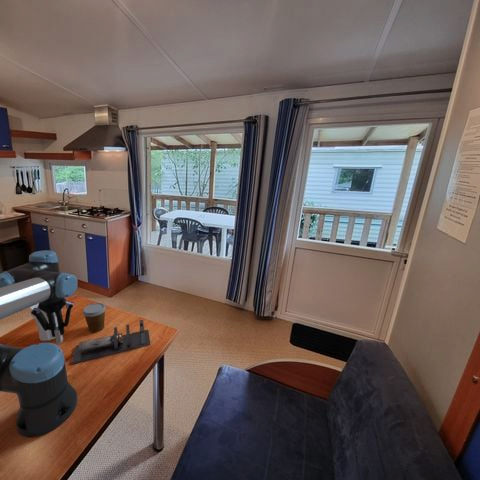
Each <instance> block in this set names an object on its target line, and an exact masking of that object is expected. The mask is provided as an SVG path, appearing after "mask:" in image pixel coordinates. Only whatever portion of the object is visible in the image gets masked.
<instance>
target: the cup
mask: <svg viewBox="0 0 480 480" xmlns="http://www.w3.org/2000/svg"><path fill="white" fill-rule="evenodd" d="M38 305H39V303H38V304H36V305H33V306H31V307H29V308H28V309H29V311H30V315H31V318H33V319H34V320H35V324H36V329H37V332H38V335H39V336H38V337H39V341H40V342H42V343H50V342H52V341H56V337H52V333H51V330H47V331H45V330H44V329H43V327H42V326H41V324H40V323H39V321H38V319H37V318H36V316H34V315H33V314H31V312H32V310H33V308H37V307H38ZM63 308H64V307H63ZM63 308H62V310H61V312H63ZM41 312H42V313H43V315H44V317H45V318H46V320H47V321H48V317H47V314H46V313H45V312H44V311H42V310H41ZM53 314H54V319H55V324H56V326H58V322H57V317H56V315H55V313H53ZM48 323H49V321H48ZM56 326H55V327H56Z"/></svg>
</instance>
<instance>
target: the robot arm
mask: <svg viewBox="0 0 480 480" xmlns="http://www.w3.org/2000/svg"><path fill="white" fill-rule="evenodd" d="M59 262H60V261H59V260H58V256H57V253H56V252H55V251H54V250H47V249H46V250H38V251H34V252H32V253H31V254H29V256H28V262H26V263H24V264H22V265H19V266H16V267H14V268H11V269H8V270H5V271H2V273H0V320H3V319H5V318H8V317H10V316H12V315H15V314H17V313H19V312H21V311H23V310H24V311H25V310H26V309H29V307H31V306H33V305H36V304H38V303H39V305H38V307H37V308H33V310H32V312H30V315H31V314H33V315H34V316H36V318H37V319H38V321H39V323H40V324H41V326H42V327H43V329H44V330H45V331H47V330H51V333H52V337H56V339H55V341H56V344H55V343H51V342H39V343H38V344H31V345H29V346H26V347H20V346H19V347H18V346H13V345H12V346H11V345H6V344H2V343H0V392H3V393H11V394H14V395H16V396H17V399H18V403H19V408H18V411H17V416H16V420H15V425H16V429H17V432H18V434H20V435H21V436H23V437H25V438H34V437H39V436H43V435H45V434H46V435H47V433H50V432H52V431H53V430H55V429H57V428H58V427H60V426H61V425H62V424H63V423H64V422H65V421H67V419H68V418H70V417H71V415H72V414H73V413H74V411H75V410H76V407H77V405H78V400H79V399H78V393H77V390H76V388H74V386H73V385H72V384H71V383H70V382H68V381H69V380H68V375H67V374H68V373H67V367H66V360H65V356H64V353H63V350H62V348H61V347H60V344H62V343H63V341H64V337H63V335H64V334H65V328H68V326H69V323H70V317H71V312H72V309H73V308H74V304H75V302H74V301H70V302H69V301H67V298H68V297H71V296H73V294H75V292H76V291H77V289H78V281H79V280H78V277H77V276H75V275H74V274H71V273H66V272H61V271H60V265H59ZM64 307H65V308H66V312H65V316H64V317H65V318H64V317H63V314H62V312H63V310H62V308H64ZM41 310H42V311H44V312H45V313H46V314H47V317H48V321H49V323H48V321H47V320H46V318H45V317H44V315H43V313H42V312H41ZM61 310H62V311H61ZM53 313H55V315H56V317H57V322H58V326H56V324H55V319H54V314H53ZM55 326H56V327H55Z"/></svg>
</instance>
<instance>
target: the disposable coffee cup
mask: <svg viewBox="0 0 480 480" xmlns="http://www.w3.org/2000/svg"><path fill="white" fill-rule="evenodd" d="M106 309H107V306H106V305H105V304H104V303H102V302H95V303H90V304H88V305H87V306H85V307H84V308H83V311H82V315H83V317H84V319H85V321H86V324H87V325H86V326H87V328H88V330H89V333H98V332H101V331H103V329H105V317H106V316H105V315H106Z"/></svg>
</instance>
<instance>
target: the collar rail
mask: <svg viewBox="0 0 480 480" xmlns="http://www.w3.org/2000/svg"><path fill="white" fill-rule="evenodd" d="M125 328H126V331H125V332H126V334H122V339H123V342H122V343H119V344H118V343H117V334H119V333H118V326H115V327H113V335H114V345H109V346H105V347H101V348H97V349H93V350H88V351H84V352H79V344H77V345H75V347H74V350H73V355H72V359H71V365H76V364H80V363H85V362H87V361H92V360H95V359H99V358H104V357H107V356H111V355H115V354H119V353H123V352H127V351H130V350H134V349H135V350H136V349H138V348H139V349H140V348H143V347H146V346H150V345H151V338H150V332H149V329H145V326H144V319H139V331H136V332H130V324H125Z"/></svg>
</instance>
